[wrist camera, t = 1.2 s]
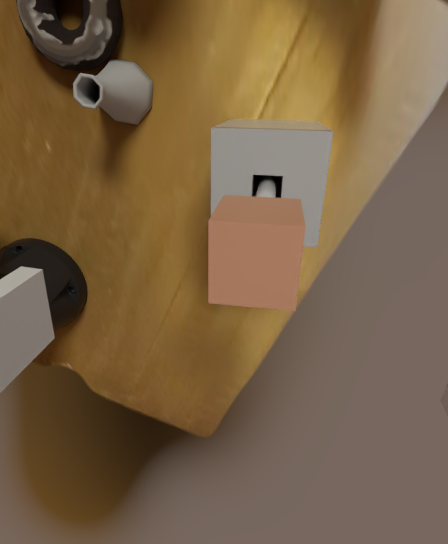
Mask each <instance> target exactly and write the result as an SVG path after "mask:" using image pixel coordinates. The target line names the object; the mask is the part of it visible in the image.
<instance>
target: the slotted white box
mask: <svg viewBox="0 0 448 544" xmlns="http://www.w3.org/2000/svg"><path fill="white" fill-rule="evenodd" d="M332 137H333V131H332V130H330V129H328V128H327V127H325V126H324V125H322V124H321V123H319V122H318V121H296V120H259V119H231V120H229V121H227V122H224V123H222V124H219V125H217V126H214V127H212V128H211V215H212V214H213V212H214V210H215V209H216V207H217V205H218V204H219V202H220V201H221V199H222V197H223V196H224V195H235V196H254V197H256V194H257V190H258V186H259V183H260V179H261V177H262V176H263V175H271V176H274V177H275V178H276V196H275V198H292V199H301V204H302V209H303V215H304V220H305V226H306V227H305V236H304V244H303V246H308V247H317V246H318V239H319V231H320V224H321V217H322V210H323V202H324V195H325V188H326V181H327V173H328V166H329V159H330V152H331V144H332Z"/></svg>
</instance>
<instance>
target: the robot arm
mask: <svg viewBox="0 0 448 544" xmlns="http://www.w3.org/2000/svg"><path fill="white" fill-rule="evenodd" d="M86 300H87V286H86V282H85V278H84V276H83V274H82V272H81V270H80V268H79V267H78V265H77V264H76V263H75V261H74V260H73V259H72V258H71V257H70V256H69V255H68V254H67V253H66V252H64V251H63V250H62V249H60V248H59V247H57V246H55V245H53V244H51V243H49V242H46V241H43V240H39V239H32V238H27V239H20V240H17V241H14V242H12V243H10V244H9V245H7V246H5V247H3V248H2V249H0V393H1V392H2V391H3V390H4V389H5V388H6V387H7V386H8V385H9V384H10V383H11V382H12V381H13V380H14V379H15V378H16V377H17V376H18V375H19V374H20V373H21V372H22V371H23V370H24V369H25V368H26V367H27V366H28V364H30V363H31V362H32V361H33V360H34V359H35V358H36V357H37V356H38V355H39V354H40V353H41V352H42V351H43V349H44V348H45V347H46V346H47V345H48V344H49V343H50V342H51V341H52V340H53V339H54V338H55V336H54V330H56V329H59V328H61V327H63V326H65V325H67V324H69V323H70V322H71V321H72V320H74V319H75V317H76V316H77V315H78V314H79V313H80V312H81V311H82V309H83V308H84V306H85V303H86ZM441 402H442V404H443V406H444V408H445V410H446V413H447V414H448V384H447V387H446V389H445V391H444V394H443V396H442V399H441Z"/></svg>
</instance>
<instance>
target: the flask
mask: <svg viewBox="0 0 448 544" xmlns="http://www.w3.org/2000/svg"><path fill="white" fill-rule="evenodd" d="M152 92H153V81H152V80H151V79H150V78H149V77H148V76H147V75H146V73H145V72H144V71H143V70H142V69H141V68H140V67H139V66H138V65H137V64H136V63H135V62H130V61H124V60H118V59H111V60H110V61H109V63H108V64H107V65H106V66H105V68H104V69H103V70H102V71H101V72H100V73H99V74H98V75H96V76H94V75H90V74H84V73H80V74H79V75H78V77H77V78H76V80H75V81H74V83H73V97H74V98H75V99H76V100H77V101H78V102H79V103H80V104H81V105H82V106H83V107H85V108H91V109H97V108H98V107H101V108H102V109H103V110H104V111H106V112H107V113H108V114H109V115H110V116H111V117H112V118H113V119H114V120H115V121H118V122H124V123H130V124H135V125H138V124H139V122H140V121H141V120H142V119H143V117H144V116H145V115H146V114H147V113H148V111H149V110H150V109H151V108H152Z"/></svg>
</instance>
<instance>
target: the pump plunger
mask: <svg viewBox="0 0 448 544" xmlns="http://www.w3.org/2000/svg"><path fill="white" fill-rule="evenodd" d="M275 196H276V178H275V177H274V176H271V175H263V176H262V177H261V179H260V183H259V186H258V190H257V194H256V197H254V196H235V195H224V196H223V197H222V199H221V201H220V202H219V204H218V205H217V207H216V209H215V210H214V212H213V214H212V215H211V217H210V219H209V220H208V303H212V304H223V305H234V306H245V307H256V308H268V309H279V310H290V311H296V302H297V294H298V286H299V277H300V269H301V261H302V252H303V244H304V236H305V227H306V226H305V220H304V215H303V209H302V204H301V199H292V198H275Z"/></svg>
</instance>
